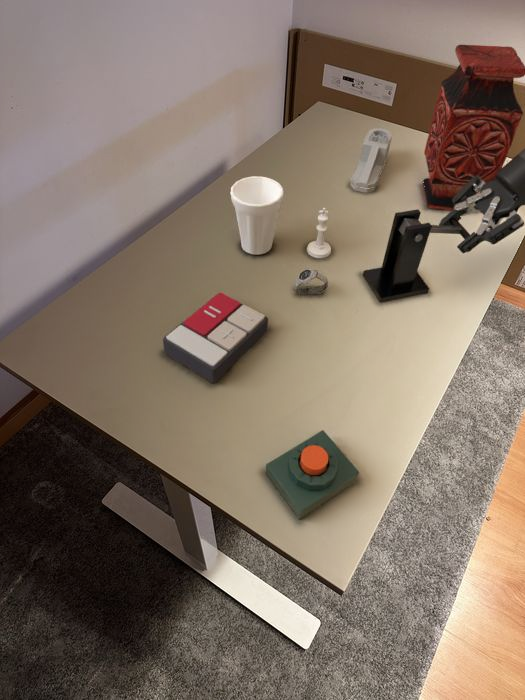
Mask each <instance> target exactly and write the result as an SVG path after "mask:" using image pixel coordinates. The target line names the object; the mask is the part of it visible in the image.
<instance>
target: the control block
mask: <svg viewBox="0 0 525 700" xmlns="http://www.w3.org/2000/svg"><path fill="white" fill-rule="evenodd" d="M311 445H316V446H320V447H322V448H323V449H324V450H325V451H326V452H327V454H328V464H327V468H326V470H325V471H324V472H323V473H322V474H320V475H316V476H313V475H309V474H307V473H305V472H304V471H303V469H302V468H301V465H300V459H301V454H302V451H303V450H304V449H305V448H306V447H308V446H311ZM265 475H266V476H267V478H268V479H269V480H270V482H271V483H272V484H273V486H274V487H275V488H276V490H277V491H278V493H279V494H280V495H281V497H282V498H283V500H284V501H285V502H286V504H287V505H288V507H289V508H290V509H291V510H292V512H293V513H294V515H295V516H296V518H297V519H298V520H301V519H303V518H304V517H306V516H307V515H309V514H310V513H312V512H313V511H315V510H316V509H317V508H319V507H321V506H322V505H323V504H324V503H326V502H328V501H329V500H331V499H333V498H334V497H335V496H337V495H338V494H339V493H341V492H343V491H344V490H346V489H347V488H349V487H350V486H352V485H353V484H355V483H356V482H357V481H358V478H359V475H360V471H359V469H357V468H356V467H355V465H354V464H353V463H352V462H351V460H350V459H349V458H348V457H347V456H346V455H345V454H344V453H343V451H342V450H341V449H340V447H338V446H337V444H336V443H335V442H334V441H333V439H332V438H331V437H330V436H329V435H328V434H327V433H326V432H325V430H324V429H322V430H320V431H319V432H317V433H316V434H314V435H312V436H311V437H309V438H308V439H306V440H303V441H302V442H300V443H299V444H298V445H296V446H294V447H292V448H291V449H288V451H286V452H284V453H282V454H281V455H280V456H278V457H276V458H274V459H273V460H271V461H270V462H268V463H266V464H265Z"/></svg>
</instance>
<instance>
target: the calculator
mask: <svg viewBox="0 0 525 700" xmlns="http://www.w3.org/2000/svg"><path fill="white" fill-rule="evenodd" d="M268 327H269V317H267V316H266V315H264V314H263V313H261V312H259V311H257V310H255V309H254V308H251V307H249V306H247V305H245V304H243V303H241V302H239V301H238V300H236V299H234V298H233V297H230V296H229V295H227V294H225V293H223V292H218V293H216V294H215V295H214V296H213V297H211V298H210V299H209V300H208V301H207V302H205V303H204V304H203V305H202V306H201V307H199V308H198V309H197V310H195V312H193V313H192V314H191V315H189V316H188V317H187V318H186V319H185V320H183V321H182V322H180V323H179V324H178V325H177V326H176V327H175V328H173V329H172V330H171V331H170V332H168V333H167V334H166V335H165V336H164V337H162V342H163V351H164V354H165V355H166V356H168V357H169V358H172V360H174V361H176V362H177V363H179V364H181V365H182V366H183V367H185V368H187V369H188V370H191V371H192V372H194V373H195V374H197V375H198V376H200V377H202V378H203V379H205V380H207V381H208V382H210V383H212V384H216V383H217V382H218V381H219V380H220V379H221V378H222V377H224V375H225V374H227V373H228V372H229V371H230V369H231V368H232V365H234V363H236V362H237V360H238V359H240V358H241V357H242V355H244V354H245V353H246V352H247V351H248V350H249V349H250V348H251V347H252V346H253V345H254V344H255V343H256V342H257V341H258V340H259V339H260V338H261V337H262V336H263V335H264V334H265V333H267V332H268Z"/></svg>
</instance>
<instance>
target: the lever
mask: <svg viewBox="0 0 525 700" xmlns="http://www.w3.org/2000/svg"><path fill="white" fill-rule="evenodd" d="M450 223H451V224H452V226H443V225H439V224H431V225H432V227H431V231H430V234H444V235H445V234H446V235H449V234H450V235H460V236H461V237H462V238H463V240H465V239H466V238H467V237H468V236H470V235H471V234H470V232H469V231H468V230H467V229H466V228H465V227H464V226H463V224H461V222H460V221H458V220H457V219H456V218H453V219H451V221H450ZM418 224H422V222H421V221H420V219H419V220H418V219H408V218H404V220H403V222H402V224H401V226H400V228H399V231H400V232H401V234H402V235H404V231H405V228H406V226H412V225H418Z"/></svg>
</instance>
